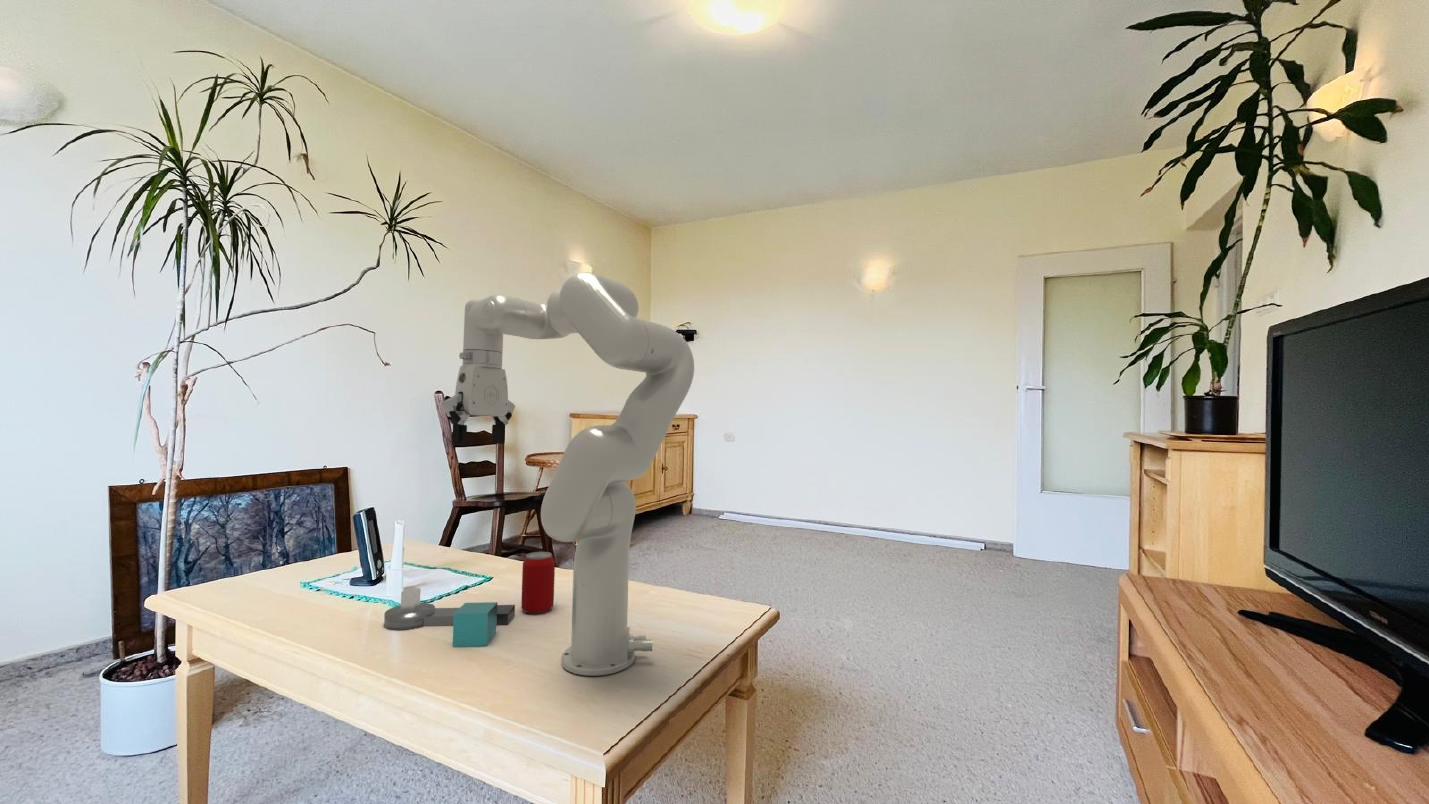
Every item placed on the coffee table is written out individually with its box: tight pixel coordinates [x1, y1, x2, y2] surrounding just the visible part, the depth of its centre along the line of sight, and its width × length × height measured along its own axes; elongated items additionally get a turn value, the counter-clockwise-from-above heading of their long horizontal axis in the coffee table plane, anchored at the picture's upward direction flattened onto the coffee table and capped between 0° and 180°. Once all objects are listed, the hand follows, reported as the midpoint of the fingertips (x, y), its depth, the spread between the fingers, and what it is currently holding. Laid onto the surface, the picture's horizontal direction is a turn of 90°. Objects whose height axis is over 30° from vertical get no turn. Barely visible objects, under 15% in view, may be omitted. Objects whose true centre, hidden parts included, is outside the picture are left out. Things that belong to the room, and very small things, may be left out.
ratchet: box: [383, 587, 516, 632], centre depth 112 cm, size 24×9×6 cm, turn 96°
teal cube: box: [452, 601, 498, 648], centre depth 103 cm, size 6×6×6 cm
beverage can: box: [521, 551, 556, 615], centre depth 120 cm, size 7×7×12 cm
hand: (479, 444), depth 112 cm, fingers open, 9 cm apart
